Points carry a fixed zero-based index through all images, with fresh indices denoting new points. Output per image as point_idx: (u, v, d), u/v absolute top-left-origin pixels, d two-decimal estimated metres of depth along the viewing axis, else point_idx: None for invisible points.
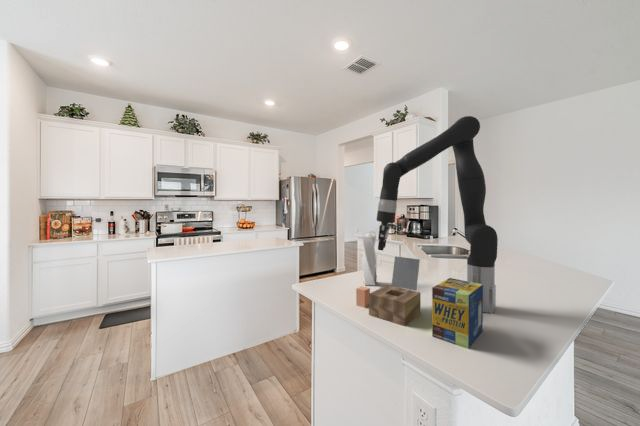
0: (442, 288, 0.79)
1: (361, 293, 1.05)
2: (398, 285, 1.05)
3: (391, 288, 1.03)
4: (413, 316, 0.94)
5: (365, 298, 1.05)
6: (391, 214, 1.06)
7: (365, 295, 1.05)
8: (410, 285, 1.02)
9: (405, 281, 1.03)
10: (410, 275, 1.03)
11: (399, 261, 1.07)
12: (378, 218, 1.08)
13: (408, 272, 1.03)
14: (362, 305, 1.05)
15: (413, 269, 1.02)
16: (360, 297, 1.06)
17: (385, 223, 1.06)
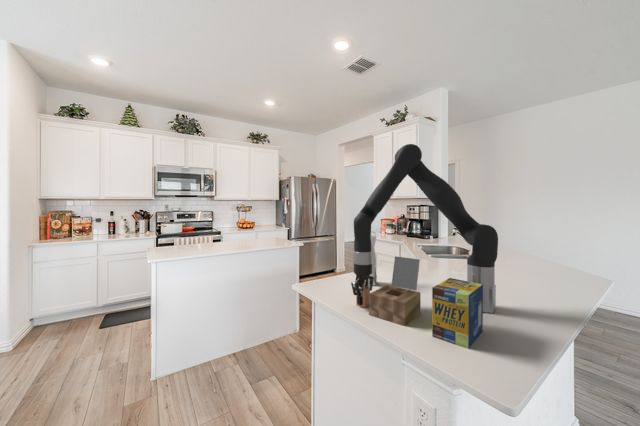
0: (442, 288, 0.79)
1: None
2: (398, 285, 1.05)
3: (391, 288, 1.03)
4: (413, 316, 0.94)
5: (365, 298, 1.05)
6: (363, 267, 1.03)
7: (365, 295, 1.05)
8: (410, 285, 1.02)
9: (405, 281, 1.03)
10: (410, 275, 1.03)
11: (399, 261, 1.07)
12: None
13: (408, 272, 1.03)
14: (362, 305, 1.05)
15: (413, 269, 1.02)
16: None
17: (358, 276, 1.04)
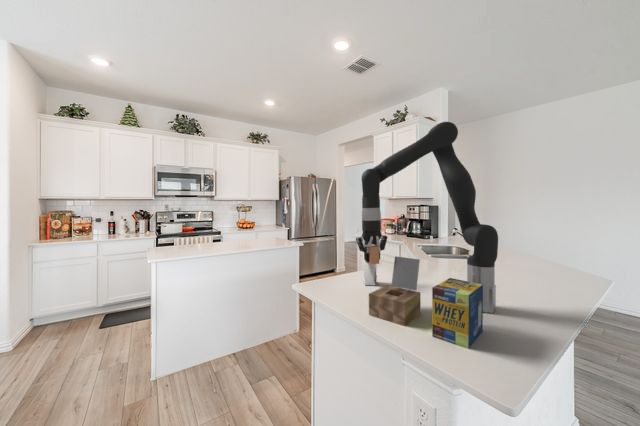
0: (442, 288, 0.79)
1: None
2: (398, 285, 1.05)
3: (391, 288, 1.03)
4: (413, 316, 0.94)
5: (372, 255, 1.03)
6: (368, 222, 1.02)
7: (371, 252, 1.03)
8: (410, 285, 1.02)
9: (405, 281, 1.03)
10: (410, 275, 1.03)
11: (399, 261, 1.07)
12: None
13: (408, 272, 1.03)
14: (369, 262, 1.04)
15: (413, 269, 1.02)
16: None
17: (364, 232, 1.03)
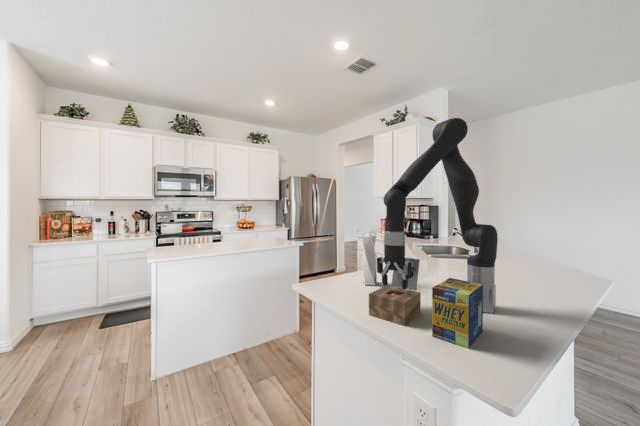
0: (442, 288, 0.79)
1: None
2: (398, 285, 1.05)
3: (391, 288, 1.03)
4: (413, 316, 0.94)
5: None
6: (384, 246, 0.98)
7: None
8: (410, 285, 1.02)
9: None
10: None
11: None
12: None
13: None
14: None
15: None
16: None
17: None
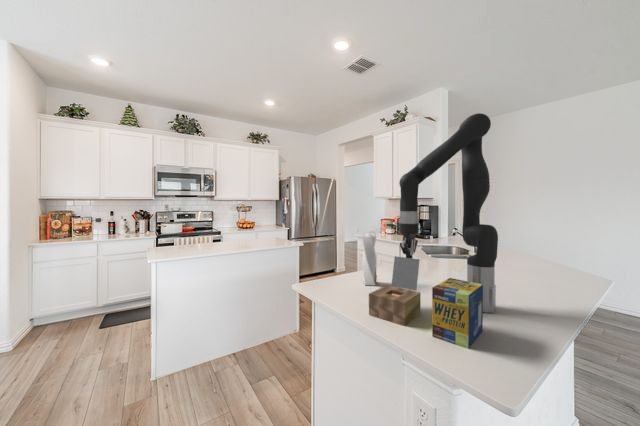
0: (442, 288, 0.79)
1: None
2: (398, 285, 1.05)
3: (391, 288, 1.03)
4: (413, 316, 0.94)
5: None
6: (411, 225, 1.04)
7: None
8: (410, 285, 1.02)
9: (405, 281, 1.03)
10: (410, 275, 1.03)
11: (399, 261, 1.07)
12: (400, 230, 1.07)
13: (408, 272, 1.03)
14: None
15: (413, 269, 1.02)
16: None
17: (406, 235, 1.04)
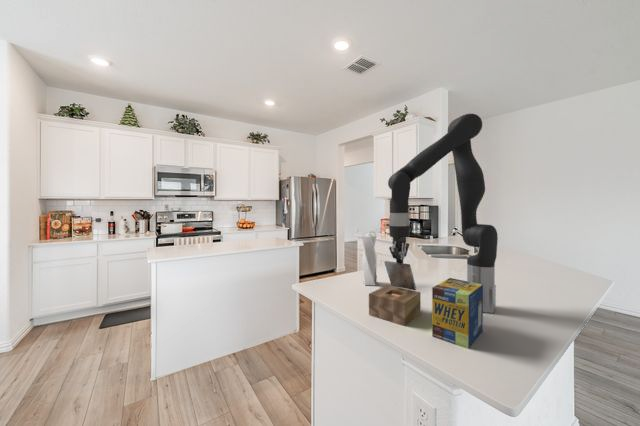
0: (442, 288, 0.79)
1: None
2: (398, 285, 1.04)
3: (391, 288, 1.03)
4: (413, 316, 0.94)
5: None
6: (401, 228, 0.97)
7: None
8: (409, 286, 1.01)
9: (403, 283, 1.02)
10: (406, 279, 1.00)
11: (390, 267, 1.01)
12: (389, 233, 1.01)
13: (403, 276, 1.00)
14: None
15: (407, 274, 0.98)
16: None
17: (396, 238, 0.98)
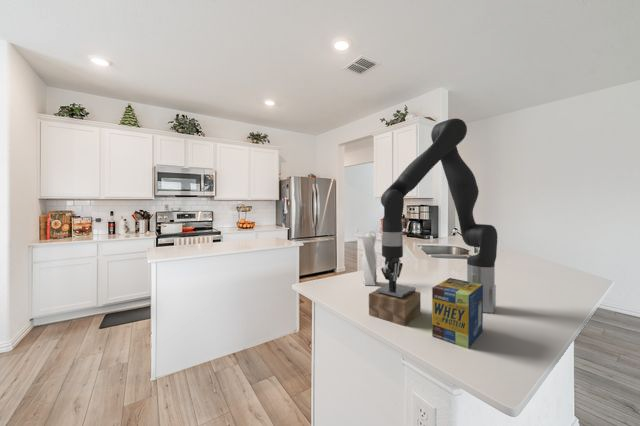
0: (442, 288, 0.79)
1: None
2: None
3: None
4: (413, 316, 0.94)
5: None
6: (394, 248, 0.93)
7: None
8: None
9: None
10: None
11: None
12: (382, 253, 0.96)
13: None
14: None
15: None
16: None
17: (388, 259, 0.93)
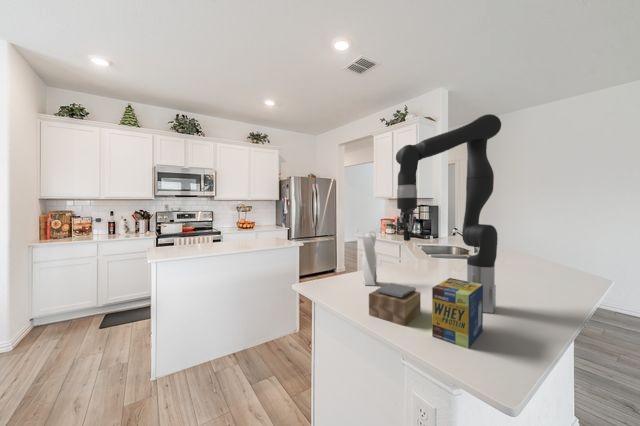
0: (442, 288, 0.79)
1: None
2: None
3: None
4: (413, 316, 0.94)
5: None
6: (409, 199, 0.99)
7: None
8: None
9: None
10: None
11: None
12: (397, 206, 1.03)
13: None
14: None
15: None
16: None
17: (404, 210, 1.00)
